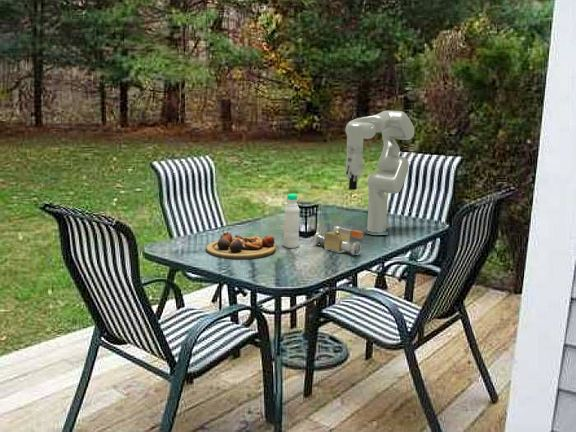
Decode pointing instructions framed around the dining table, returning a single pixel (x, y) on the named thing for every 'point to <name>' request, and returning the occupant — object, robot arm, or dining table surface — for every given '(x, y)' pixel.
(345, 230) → the valve lever
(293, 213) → the water bottle
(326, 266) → the dining table surface
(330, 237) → the valve pipe
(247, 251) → the wooden plate with food
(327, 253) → the dining table surface
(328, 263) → the dining table surface
